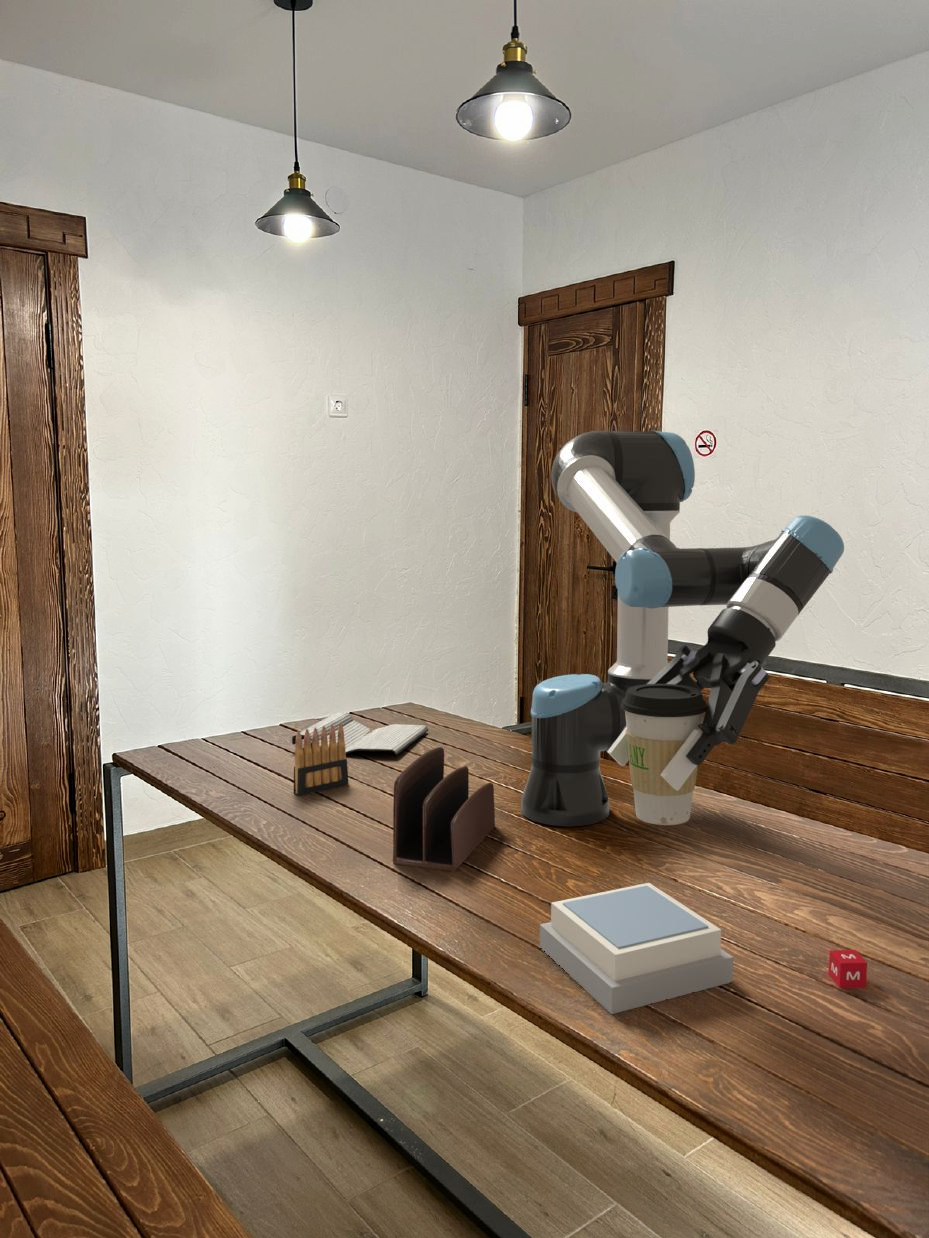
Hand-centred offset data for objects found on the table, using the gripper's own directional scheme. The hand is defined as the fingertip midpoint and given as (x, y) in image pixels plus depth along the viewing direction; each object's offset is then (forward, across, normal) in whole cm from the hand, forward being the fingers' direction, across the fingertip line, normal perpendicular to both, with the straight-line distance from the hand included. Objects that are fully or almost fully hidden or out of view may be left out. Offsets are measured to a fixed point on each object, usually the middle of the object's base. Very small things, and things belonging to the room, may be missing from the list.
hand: (641, 770), depth 108 cm
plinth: (+17, -1, -15) cm, 23 cm away
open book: (+15, +106, -18) cm, 108 cm away
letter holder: (+20, +43, -12) cm, 49 cm away
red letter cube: (+4, -14, -29) cm, 33 cm away
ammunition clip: (+27, +78, -5) cm, 83 cm away
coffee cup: (+2, 0, -7) cm, 7 cm away
